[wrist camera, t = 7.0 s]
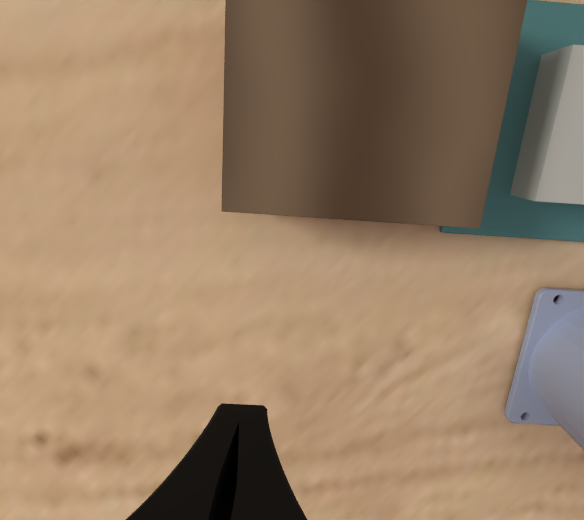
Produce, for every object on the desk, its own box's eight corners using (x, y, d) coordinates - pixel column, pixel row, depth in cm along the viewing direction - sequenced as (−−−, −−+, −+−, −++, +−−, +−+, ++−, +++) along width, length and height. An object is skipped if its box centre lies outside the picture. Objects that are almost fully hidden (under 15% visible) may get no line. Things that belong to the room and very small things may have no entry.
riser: (474, 25, 17) (529, -8, 13) (441, 210, 19) (479, 228, 16) (239, 5, 17) (226, -35, 13) (234, 196, 19) (221, 211, 15)
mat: (651, 13, 17) (657, 11, 17) (585, 240, 20) (590, 242, 20) (481, -2, 17) (485, -4, 17) (439, 231, 20) (441, 232, 19)
